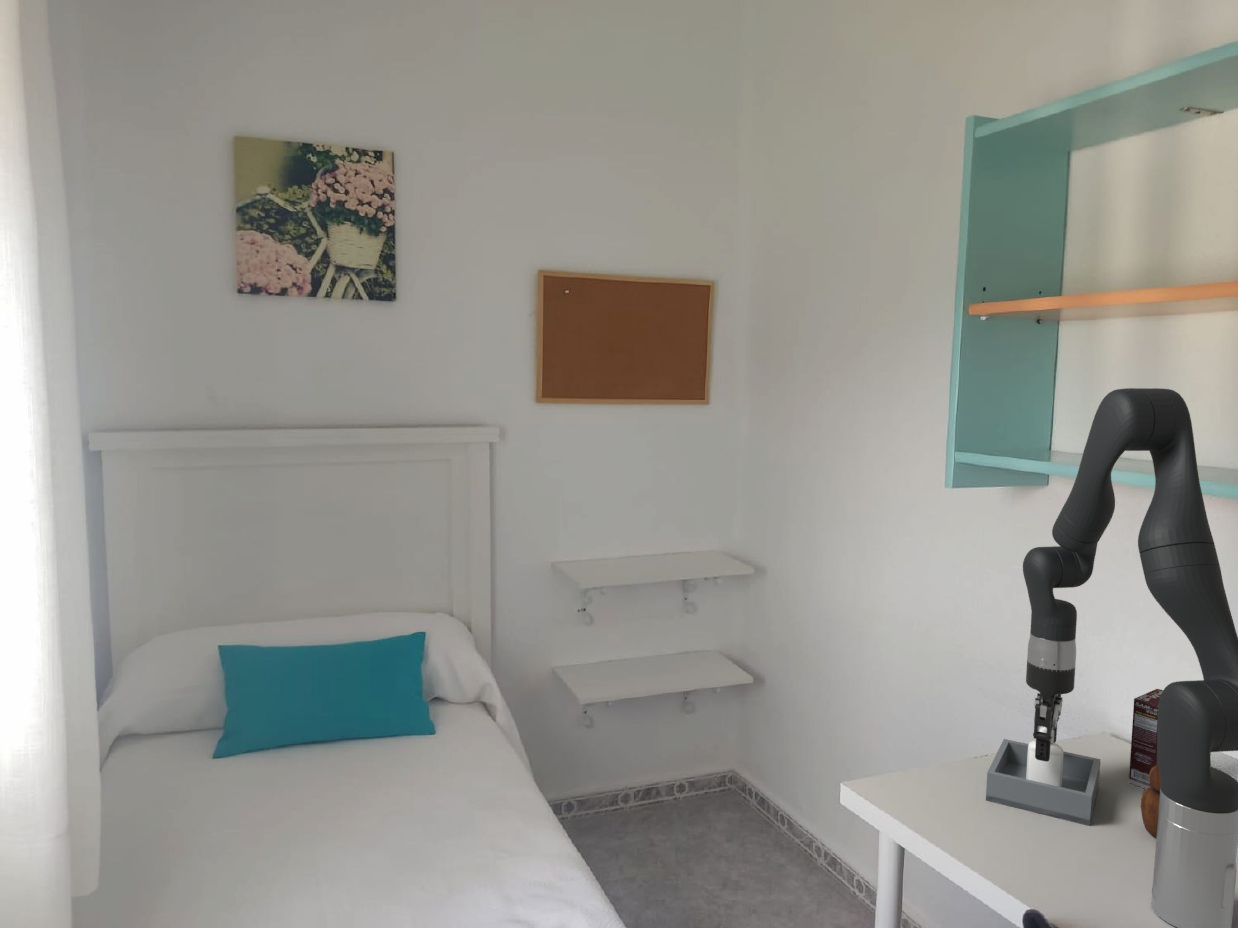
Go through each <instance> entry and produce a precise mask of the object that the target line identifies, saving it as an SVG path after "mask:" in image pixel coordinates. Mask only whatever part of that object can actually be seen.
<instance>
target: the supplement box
mask: <svg viewBox="0 0 1238 928" xmlns="http://www.w3.org/2000/svg"><path fill="white" fill-rule="evenodd" d="M1163 690H1164V689H1160V688H1155V689H1153V690H1151V691H1149V692H1146V693H1144V694H1142V695H1139V696H1138V697H1135V698H1134V699H1133V710H1132V713H1133V714H1132V724H1131V725H1132V726H1131V727H1132V728H1131V729H1132V730H1131V743H1130V755H1129V756H1130V757H1129V760H1130V761H1129V771H1128V774H1129V775H1128V783H1129V782H1130V783H1129V784H1131V783H1132V784H1131V785H1134V786H1136V785H1137V787H1138V788H1142V789H1144V790H1145V789H1147V788H1148V787H1150V786H1151V785H1150V782H1149V773H1150V770H1151V768H1152V767H1154V766H1155V765H1156V763H1157V734H1158V705H1159V700H1160V696H1161V694H1162V692H1163Z"/></svg>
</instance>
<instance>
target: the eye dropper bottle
mask: <svg viewBox="0 0 1238 928" xmlns="http://www.w3.org/2000/svg"><path fill="white" fill-rule="evenodd" d="M1039 732H1043V733H1047V728H1046V727H1043V726H1041V727H1040V731H1039ZM1028 744H1029V745H1028V754H1027V771H1026V779H1028V780H1032V781H1037V782H1041V783H1045V784H1050V785H1054V786H1058V787H1061V785H1062V769H1063V751H1064V748H1062V746H1061V745H1059V744H1058V743H1056V742H1055V743H1054V730H1052V739H1051V745H1050V759H1049V761H1047V762H1046V761H1041V760H1037V759H1036V758H1035V748H1036V739H1035V740H1031V741H1030V742H1028Z"/></svg>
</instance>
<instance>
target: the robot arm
mask: <svg viewBox="0 0 1238 928" xmlns="http://www.w3.org/2000/svg"><path fill="white" fill-rule="evenodd" d="M1086 439H1087V440H1086V442H1085V446H1084V449H1083V452H1082V456H1081V460H1080V464H1079V466H1078V471H1077V474H1076V477H1075V480H1074V482H1073V486H1072V488H1071V490H1070V493H1069V495H1068V497H1067V499H1066V501H1065V503H1064V505H1063V506H1062V508H1061V511H1060V512H1059V514H1058V516H1057V518H1056V519H1055V521H1054V524H1053V526H1052V530H1051V533H1052V534H1051V535H1052V538H1053V541H1054V542H1055V543H1056V544H1057V545H1058V546H1057V545H1055V546H1054V545H1053V546H1037V547H1033V548H1032V549H1030V550H1028V552H1027V553H1026V555H1025V557H1024V558H1023V561H1022V574H1023V579H1024V582H1025V586H1026V590H1027V593H1028V599H1029V604H1030V609H1031V610H1030V611H1031V614H1030V616H1031V618H1030V629H1029V630H1030V633H1029V639H1028V644H1027V656H1026V657H1027V658H1026V670H1025V671H1026V673H1025V683H1026V685H1027V686H1028V687H1029V688H1031V689H1033V690H1035V691H1037V692H1038V693H1037V695H1036V697H1035V699H1034V709H1035V710H1034V715H1033V716H1034V717H1033V722H1034V724H1033V725H1034V726H1033V732H1032V733H1033V734H1032V737H1033V739H1035V740H1036V748H1035V758H1036V759H1037V760H1041V761H1046V762H1047V761H1049V759H1050V745H1051V739H1052V730H1054V743H1056V742H1057V735H1058V733H1057V732H1058V722H1059V721H1060V716H1061V715H1062V706H1063V701H1064V700H1063V697H1062V695H1066V694H1070V693H1072V692H1073V690H1074V689H1075V678H1076V677H1075V675H1076V661H1077V643H1076V641H1077V640H1076V636H1077V635H1076V634H1077V623H1078V622H1077V620H1078V613H1077V612H1078V611H1077V609H1076V606H1075V605H1074V604H1073V603H1072V602H1069V601H1067V600H1063V599H1058V598H1055V594H1054V589H1063V588H1064V589H1065V588H1068V589H1069V588H1070V589H1071V588H1077V587H1081V586H1082V585H1084V584H1085V583H1087V582H1089V580H1090V578H1091V577H1092V575H1093V571H1094V567H1095V565H1094V564H1095V559H1096V553H1097V548H1098V543H1099V541H1100V539H1101V538H1102V536H1103V534H1104V533H1105V531H1106V530H1107V527H1108V526H1109V524H1110V522H1111V521H1112V518H1113V516H1114V513H1115V509H1116V497H1115V491H1114V487H1113V486H1114V485H1113V482H1112V472H1113V469H1114V466H1115V464H1116V463H1117V461H1118V460H1119V459H1120V458H1121V456H1122V455H1123V454H1124V453H1125V452H1149V453H1150V456H1151V459H1152V464H1153V470H1154V478H1155V481H1154V482H1155V483H1154V484H1155V486H1154V491H1153V496H1152V498H1151V501H1150V504H1149V506H1148V508H1147V511H1146V513H1145V515H1144V517H1143V520H1142V522H1141V526H1140V529H1139V531H1138V537H1137V548H1138V552H1139V553H1138V554H1139V558H1140V561H1141V562H1140V563H1141V567H1142V571H1143V576H1144V580H1145V583H1146V586H1147V589H1148V590H1149V592H1150V594H1151V595H1152V597H1153V599H1155V601H1156V602H1157V603H1158V604H1159V606H1160V607H1161V609H1162V610H1163V611H1164V612H1165V613H1166V614H1167V615H1168V617H1169V618H1170V619H1171V620H1172V621H1173V622H1174V624H1176V625H1177V626H1178V628H1179V629H1180V630H1181V631H1182V632H1183V634H1184V635H1185V636H1186V638H1187V639H1188V641H1189V642H1190V644H1191V646H1192V647H1193V650H1194V652H1195V655H1196V657H1197V660H1198V663H1199V666H1200V670H1201V674H1202V677H1203V679H1202V680H1201V679H1199V680H1182V681H1178V680H1177V681H1174V682H1171V683H1169V684H1167V685H1166V686H1165V687H1164V688H1163V689H1162V690H1163V692H1162V694H1161V696H1160V700H1159V705H1158V734H1157V763H1158V768H1159V773H1160V777H1161V785H1160V800H1159V813H1158V825H1157V837H1156V838H1155V839H1156V840H1155V851H1154V852H1155V853H1154V863H1153V864H1154V865H1153V876H1152V887H1151V901H1150V903H1151V904H1150V905H1151V908H1152V910H1153V912H1154V913H1155V914H1156V915H1157V916H1158V917H1159V918H1160V919H1162V921H1164V922H1165V923H1167V924H1169V925H1171V926H1173V927H1176V928H1233V917H1234V905H1235V892H1236V883H1237V882H1236V881H1237V853H1238V780H1237V779H1236V778H1234V777H1233V776H1231V775H1229V774H1228V773H1226V772H1224V771H1222V770H1220V769H1219V768H1216V767H1212V766H1211V765H1212V764H1211V753H1219V752H1222V753H1223V752H1234V751H1235V752H1238V633H1237V630H1236V627H1235V623H1234V620H1233V616H1232V612H1231V608H1230V603H1229V600H1228V598H1227V594H1226V589H1225V586H1224V580H1223V575H1222V570H1221V569H1222V568H1221V566H1220V561H1219V558H1218V553H1217V552H1218V551H1217V549H1216V545H1215V541H1214V538H1213V535H1212V531H1211V527H1210V524H1209V520H1208V515H1207V510H1206V506H1205V501H1204V497H1203V492H1202V487H1201V482H1200V477H1199V470H1198V469H1199V468H1198V464H1197V463H1198V461H1197V454H1196V445H1195V438H1194V431H1193V424H1192V418H1191V414H1190V411H1189V407H1188V404H1187V403H1186V401H1185V399H1184V398H1183V396H1181V394H1180V393H1178V392H1177V391H1176V390H1174V389H1169V388H1159V387H1158V388H1157V387H1156V388H1155V387H1154V388H1150V387H1149V388H1145V387H1144V388H1142V387H1141V388H1135V387H1134V388H1133V387H1131V388H1130V387H1128V388H1118V389H1114V390H1112V391H1110V392H1108V393H1107V394H1106V395H1105V396H1104V397H1103V399H1102V400H1101V402H1100V403H1099V405H1098V407H1097V410H1096V412H1095V414H1094V417H1093V421H1092V423H1091V426H1090V430H1089V433H1088V437H1087V438H1086ZM1041 727H1046V728H1047V733H1043V732H1039V731H1040V728H1041Z"/></svg>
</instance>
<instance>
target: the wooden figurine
mask: <svg viewBox="0 0 1238 928" xmlns="http://www.w3.org/2000/svg"><path fill="white" fill-rule="evenodd" d="M1149 782H1150V785H1151V786H1150V787H1148V788H1147V789H1144V791H1143V792H1142V795H1141V798H1140V811H1141V819H1142V822H1143V825H1144V828H1145V830H1146V832H1147V833H1148V834H1150V835H1151V836H1153V837H1154V838H1155V839H1156V837H1157V825H1158V813H1159V800H1160V785H1161V777H1160V773H1159V768H1158V763H1156V765H1155V766H1154V767H1152V768H1151V770H1150V773H1149Z"/></svg>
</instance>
